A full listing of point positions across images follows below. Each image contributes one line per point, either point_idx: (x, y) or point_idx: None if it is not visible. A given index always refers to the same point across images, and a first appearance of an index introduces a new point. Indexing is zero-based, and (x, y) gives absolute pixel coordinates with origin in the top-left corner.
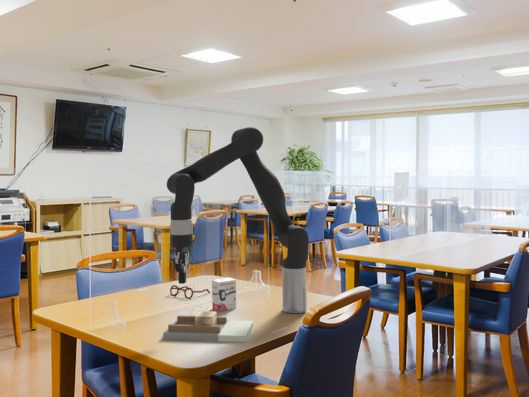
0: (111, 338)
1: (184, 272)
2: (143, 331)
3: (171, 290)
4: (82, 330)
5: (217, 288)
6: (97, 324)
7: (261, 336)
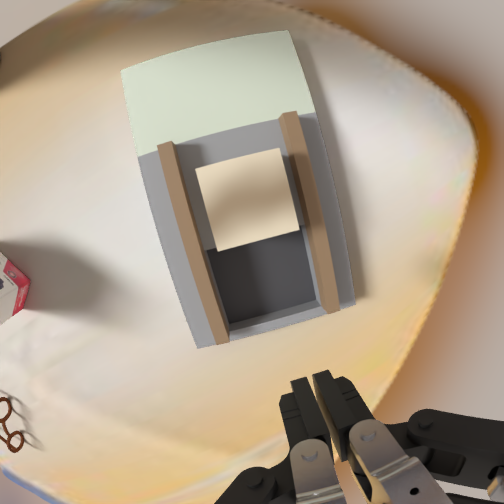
0: None
1: (374, 420)
2: None
3: (18, 447)
4: None
5: None
6: None
7: (214, 18)
